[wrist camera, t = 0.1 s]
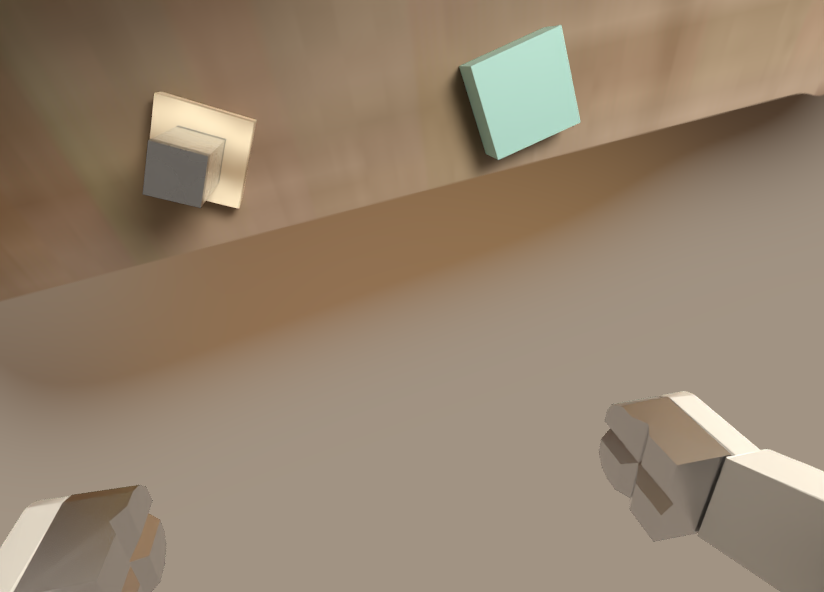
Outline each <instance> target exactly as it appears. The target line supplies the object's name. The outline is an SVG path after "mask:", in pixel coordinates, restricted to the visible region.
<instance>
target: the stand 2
mask: <svg viewBox="0 0 824 592" xmlns="http://www.w3.org/2000/svg"><path fill="white" fill-rule="evenodd" d="M459 68H460V71H461V74H462V77H463V81H464V84H465V87H466V91H467V94H468V97H469V100H470V104H471V107H472V110H473V113H474V117H475V120H476V123H477V126H478V130H479V133H480V136H481V140H482V143H483V146H484V149H485V153H486V154H487V155H489V156H491V157H493V158H495V159H497V160H499V159H502V158H504V157H506V156H508V155H510V154H513V153H515V152H517V151H519V150H521V149H523V148H526V147H528V146H530V145H532V144H534V143H536V142H539V141H541V140H543V139H545V138H547V137H550V136H552V135H554V134H556V133H558V132H560V131H563V130H565V129H567V128H569V127H571V126H574V125H576V124H578V123H580V117H579V112H578V107H577V102H576V97H575V92H574V87H573V82H572V77H571V72H570V67H569V61H568V56H567V51H566V46H565V41H564V36H563V31H562V26H561V25H558V26H551V27H545V28H542V29H539V30H537V31H535V32H533V33H531V34H528V35H526V36H524V37H522V38H520V39H518V40H515V41H513V42H511V43H509V44H507V45H504V46H502V47H500V48H498V49H496V50H493V51H491V52H489V53H487V54H485V55H483V56H480V57H478V58H476V59H474V60H472V61H469V62H467V63H465V64H463V65H461V66H459Z"/></svg>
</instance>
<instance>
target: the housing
mask: <svg viewBox="0 0 824 592" xmlns="http://www.w3.org/2000/svg"><path fill="white" fill-rule="evenodd" d="M225 143H226V139H224V138H221V137H217V136H214V135H210V134H207V133H203V132H200V131H196V130H193V129H189V128H185V127H182V126H176V127H174V128H172V129H170V130H168V131H166V132H164V133H162V134H160V135H158V136H156V137H153V138H151V139H149V140H148V147H147V156H146V166H145V176H144V186H143V195H148V196H152V197H156V198H160V199H165V200H169V201H173V202H177V203H182V204H186V205H190V206H194V207H199V208H201V207H202V205H203V204H204V203H205V201H206V200H207V198H208V197H209V196H210V194H211V193H212V191H213V190H214V189H215V187H216V186H217V184H218V183H219V180H220V174H221V168H222V162H223V155H224V149H225Z"/></svg>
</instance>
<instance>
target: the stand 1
mask: <svg viewBox="0 0 824 592" xmlns="http://www.w3.org/2000/svg"><path fill="white" fill-rule="evenodd" d="M255 125H256V120H255V119H251V118H248V117H245V116H241V115H238V114H235V113H231V112H228V111H225V110H221V109H218V108H215V107H211V106H208V105H205V104H201V103H198V102H195V101H191V100H188V99H185V98H181V97H178V96H175V95H171V94H168V93H165V92H156V93H154V101H153V111H152V121H151V131H150V139H151V138H153V137H156V136H158V135H160V134H162V133H164V132H166V131H168V130H170V129H172V128H174V127H176V126H182V127H185V128H189V129H193V130H196V131H200V132H203V133H207V134H210V135H214V136H217V137H221V138H224V139H226V143H225V149H224V155H223V162H222V168H221V174H220V180H219V183H218V184H217V186H216V187H215V189H214V190H213V191H212V193H211V194H210V196H209V197H208V198H207V200H206V201H209V202H213V203H217V204H222V205H226V206H230V207H234V208H238V209H239V207H240V205H241V203H242V197H243V192H244V186H245V181H246V175H247V170H248V164H249V159H250V153H251V148H252V142H253V137H254V131H255Z"/></svg>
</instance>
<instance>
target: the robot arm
mask: <svg viewBox="0 0 824 592" xmlns="http://www.w3.org/2000/svg"><path fill="white" fill-rule="evenodd" d="M605 422H606V423H607V425H608V426H609V428H610V429H609V431H608V432H607V433H606V434H605V435H604V436H603V437H602V439H601V443H600V450H599V455H600V460H601V465H602V468H603V471H604V473H605V475H606V477H607V479H608V480H609V482H610V483H611V484H612V486H613V487H614V489H615V490H617V491H619V492H620V493H622V494H624V495H626V496H628V497H629V498H630V511H631V512H632V513H633V515H634V516H635V517H636V519H637V520H638V522H639V523H640V524H641V526H642V527H643V528H644V530H645V531H646V532H647V533H648V535H649V536H650V538H651V539H652V540H653V541H654V542H655V541H660V540H665V539H670V538H675V537H680V536H686V535H691V534H696V533H698V537H700V538H701V539H703V540H704V541H706V542H707V543H709V544H710V545H712V546H713V547H715V548H716V549H718V550H719V551H721V552H722V553H724V554H725V555H727V556H728V557H730V558H731V559H733V560H734V561H736V562H737V563H739V564H740V565H742V566H743V567H745V568H746V569H748V570H749V571H751V572H752V573H754V574H755V575H756V576H758V577H759V578H761V579H762V580H764V581H765V582H767V583H768V584H770V585H771V586H773V587H774V588H776V589H777V590H779V591H780V592H824V471H822V470H819V469H817V468H814V467H812V466H809V465H807V464H804V463H801V462H799V461H797V460H794V459H792V458H789V457H787V456H784V455H782V454H779V453H777V452H774V451H772V450H769V449H765V450H760V449H758V448H757V447H756V446H755V445H753V444H752V443H751V442H750V441H749V440H748V439H746V438H745V437H744V436H743V435H741V434H740V433H739V432H738V431H737V430H736V429H734V428H733V427H732V426H731V425H729V423H727V422H726V421H725V420H724V419H723V418H721V417H720V416H719V415H718V414H717V413H716V412H714V411H713V410H712V409H711V408H710V407H708V406H707V405H706V404H705V403H704V402H702V401H701V400H700V399H699V398H697V397H696V396H695V395H694V394H692V393H689V392H687V391H682V392H676V393H671V394H665V395H661V396H655V397H650V398H644V399H638V400H633V401H627V402H622V403H617V404H612V405H611V406H610V407H609V409H608V410H607V413H606V417H605ZM152 501H153V500H152V498H151V496H150V494H149V492H148V490H147V487H146V486H142V485H136V486H129V487H122V488H116V489H109V490H102V491H95V492H88V493H82V494H75V495H71V496H66V497H59V498H52V499H46V500H38V501H35V502H34V503H32V504H31V505H30V506H28V507H27V508H26V509H25V510H24V511H23V513H22V514H21V516H20V517H19V519H18V521H17V522H16V524H15V525H14V527H13V529H12V530H11V532H10V533H9V535H8V536H7V538H6V540H5V541H4V543H3V544H2V546H1V547H0V592H152V591H153V590H154V588H155V587H156V586H157V585H158V584H159V583H160V581H161V577H162V573H163V569H164V565H165V555H166V540H165V533H164V529H163V526H162V523H161V521H160V519H158V518H156V517H154V516H152V515H151V514H149V510H150V507H151V504H152Z"/></svg>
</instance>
